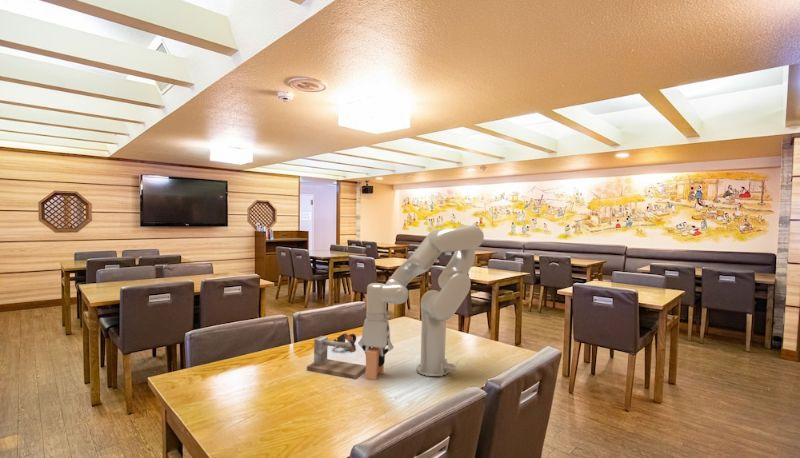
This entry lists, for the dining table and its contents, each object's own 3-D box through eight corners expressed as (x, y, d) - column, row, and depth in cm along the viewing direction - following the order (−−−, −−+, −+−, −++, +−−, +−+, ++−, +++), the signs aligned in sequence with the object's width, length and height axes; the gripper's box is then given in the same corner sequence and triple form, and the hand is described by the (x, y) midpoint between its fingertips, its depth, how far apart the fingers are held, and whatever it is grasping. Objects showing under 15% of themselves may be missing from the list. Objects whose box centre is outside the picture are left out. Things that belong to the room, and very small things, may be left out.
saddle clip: (383, 372, 148) (384, 346, 148) (375, 380, 141) (376, 353, 140) (374, 370, 149) (374, 345, 149) (365, 378, 142) (366, 351, 142)
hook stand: (367, 369, 150) (367, 340, 150) (355, 379, 141) (356, 348, 141) (320, 361, 158) (321, 333, 157) (306, 370, 148) (307, 340, 148)
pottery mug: (349, 356, 167) (340, 339, 167) (335, 360, 172) (326, 344, 172) (364, 342, 177) (356, 326, 177) (351, 347, 182) (342, 331, 182)
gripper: (400, 316, 145) (399, 364, 145) (360, 311, 151) (359, 358, 151) (393, 321, 138) (392, 371, 138) (351, 316, 144) (350, 364, 144)
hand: (375, 364), depth 145 cm, fingers open, 4 cm apart
